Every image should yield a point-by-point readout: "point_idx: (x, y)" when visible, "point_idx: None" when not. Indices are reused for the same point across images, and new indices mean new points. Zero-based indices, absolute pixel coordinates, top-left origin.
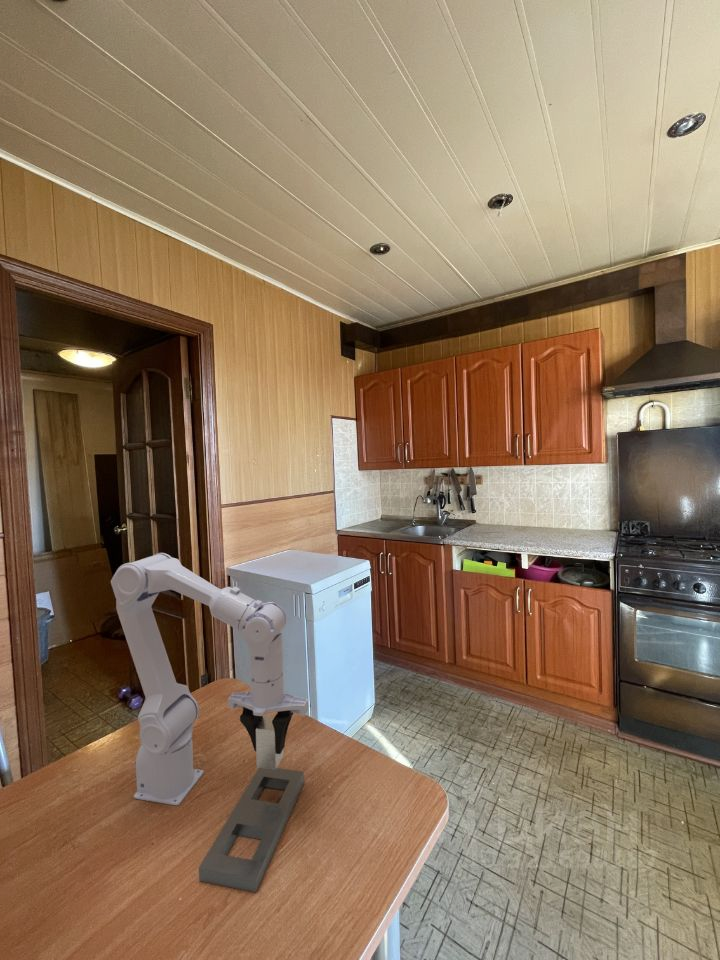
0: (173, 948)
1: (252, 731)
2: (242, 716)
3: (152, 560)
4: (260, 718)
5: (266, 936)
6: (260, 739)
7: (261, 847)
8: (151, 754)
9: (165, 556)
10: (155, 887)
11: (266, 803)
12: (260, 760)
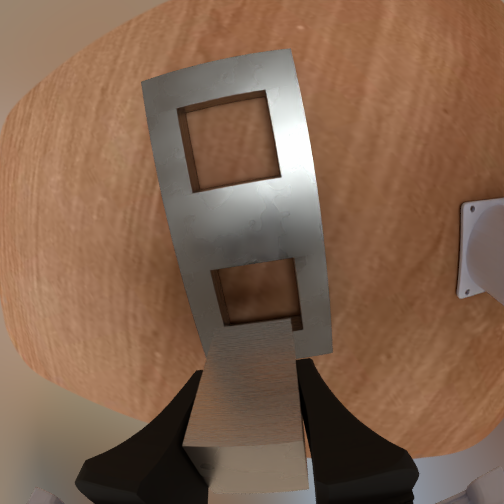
0: None
1: (317, 422)
2: (400, 481)
3: None
4: (314, 481)
5: (103, 52)
6: (273, 400)
7: (172, 144)
8: None
9: None
10: (366, 33)
11: (242, 260)
12: (274, 336)
